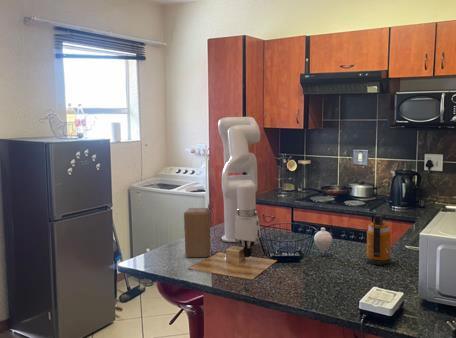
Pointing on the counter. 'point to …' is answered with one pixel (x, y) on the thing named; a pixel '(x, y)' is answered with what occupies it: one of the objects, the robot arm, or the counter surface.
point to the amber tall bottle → (378, 241)
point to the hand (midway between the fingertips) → (247, 256)
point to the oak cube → (235, 254)
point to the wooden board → (234, 266)
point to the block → (197, 232)
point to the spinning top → (323, 240)
